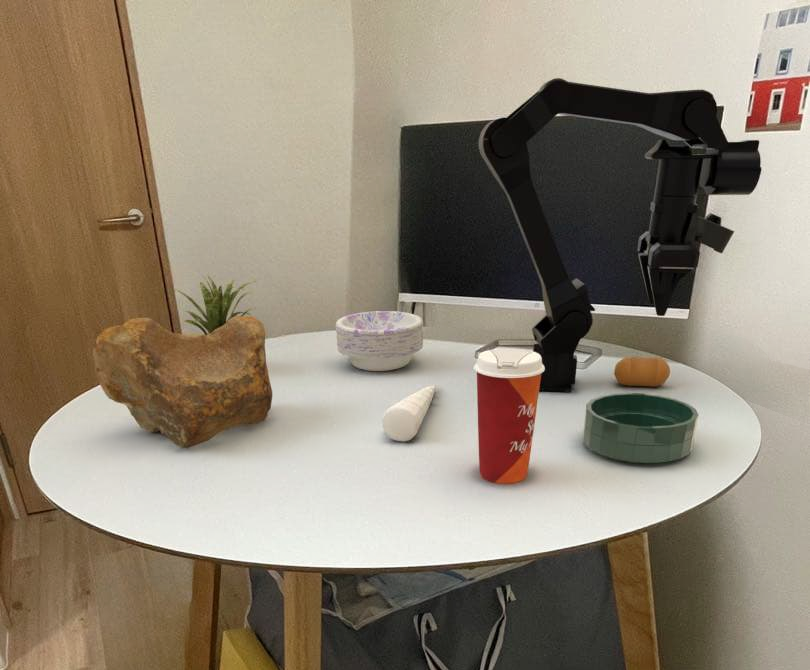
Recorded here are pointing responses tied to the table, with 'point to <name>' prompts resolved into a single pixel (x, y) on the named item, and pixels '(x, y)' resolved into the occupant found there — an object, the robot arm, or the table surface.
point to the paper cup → (506, 412)
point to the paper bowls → (379, 339)
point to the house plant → (215, 306)
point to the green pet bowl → (639, 427)
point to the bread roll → (642, 371)
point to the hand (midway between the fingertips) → (656, 309)
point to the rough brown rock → (186, 377)
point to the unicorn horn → (407, 415)
